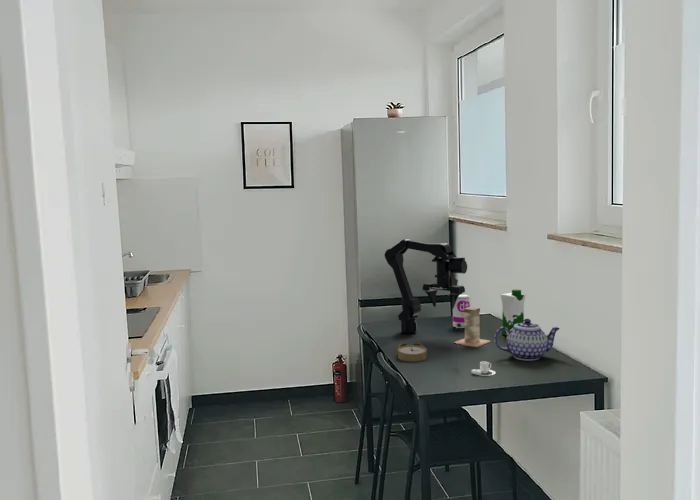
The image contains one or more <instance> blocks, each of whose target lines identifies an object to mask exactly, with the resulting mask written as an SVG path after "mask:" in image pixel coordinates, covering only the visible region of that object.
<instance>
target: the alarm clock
mask: <svg viewBox="0 0 700 500" xmlns="http://www.w3.org/2000/svg"><path fill="white" fill-rule="evenodd" d="M397 359H399V360H400V361H403V362H421V361H422V362H423V361H424V360H426V359H427V348H426V346H425V347H424V346H423V345H422V344H421V343H420V342H414V343H413V344H407V343H404V342H403V343H400V344H399V345H398V346H397Z"/></svg>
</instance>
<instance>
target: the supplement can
mask: <svg viewBox="0 0 700 500" xmlns="http://www.w3.org/2000/svg"><path fill="white" fill-rule="evenodd" d="M471 301H472V300H471V297H470V295H469V294H464V293H462V294H460V295H459V296H458V298H457V300H456V303H455V306H454V308H453V309H452V327H456V328H455V329H457V328H465V314H464V309H465V308H468V307H472V305H471Z"/></svg>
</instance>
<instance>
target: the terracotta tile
mask: <svg viewBox="0 0 700 500" xmlns="http://www.w3.org/2000/svg"><path fill="white" fill-rule="evenodd" d="M454 343H456V344H455V345H460V344H461V346H466V347H472V348H479V347H481V346H483V345H487V344H489V343H491V340H489V339H482V338H480V341H478V342H476V343H470V342H465V337H464V338H461V339H459V340H456V341H453V344H454Z"/></svg>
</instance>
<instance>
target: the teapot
mask: <svg viewBox="0 0 700 500" xmlns="http://www.w3.org/2000/svg"><path fill="white" fill-rule="evenodd" d="M502 329H504V330H505V331H506V333H507V335H506V347H504V346H503V347H502V346H501V345H499V343H498V336H499V333H500V332H502ZM560 329H561V328H559V327H557V326H553V327H551V329H550V332H548V334H546V333H545V331H544V330H542V328H541V325H540V324H537V323H533V322H532V320H531V319H530V318H524V323H518V324H515V325H514V327H513V328H512V329H511V330H510V331H509V330H508V329H507V328H506V327H502V326H499V328H497V330H496V332H495V333H494V337H493V341H494V344H495V346H496V347H497V348H498V349H499V350H501V351H504V352H507V353H509V354H511V355H512V357H513V358H514V359H515V360H516V359H517V360H520V361H537V360H539V359H540V358H541V357H542V356H544V355H545V354H546V353H547V352H550V351H551V350H552V348H553V346H554V343H555V336H556V334H557V331H559V330H560Z"/></svg>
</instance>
